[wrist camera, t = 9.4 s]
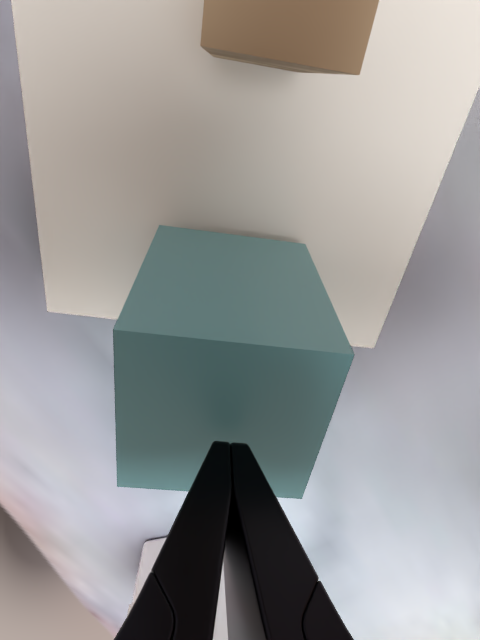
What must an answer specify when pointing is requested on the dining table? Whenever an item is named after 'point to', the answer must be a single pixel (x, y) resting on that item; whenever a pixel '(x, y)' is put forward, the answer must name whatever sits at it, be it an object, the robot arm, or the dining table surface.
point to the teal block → (225, 359)
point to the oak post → (290, 33)
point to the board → (236, 145)
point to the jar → (145, 566)
